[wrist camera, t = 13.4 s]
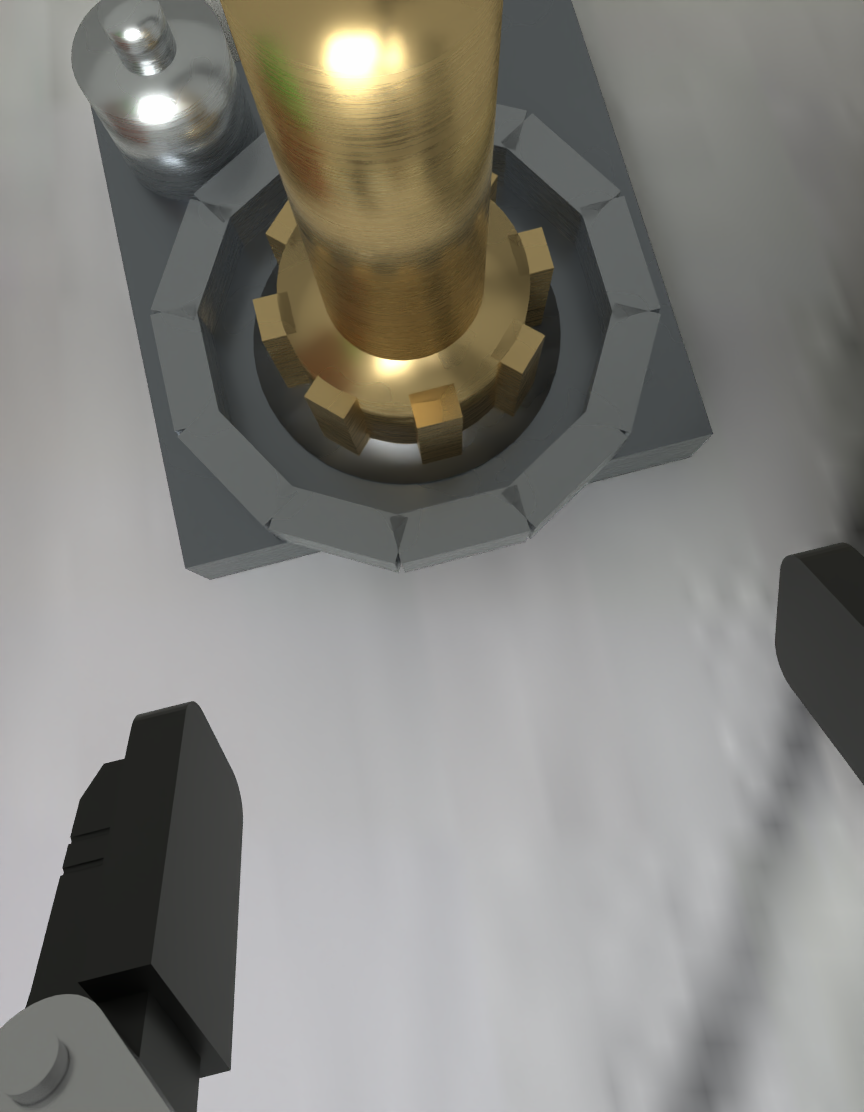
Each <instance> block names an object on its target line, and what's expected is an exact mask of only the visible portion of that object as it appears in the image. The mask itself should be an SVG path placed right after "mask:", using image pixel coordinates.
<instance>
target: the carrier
mask: <svg viewBox="0 0 864 1112" xmlns="http://www.w3.org/2000/svg"><path fill="white" fill-rule="evenodd" d="M71 60H72V68H73V72H74V75H75V78H76V80H77V83H78V85H79V86H80V88H81V90H82V91H83V93H84V95H85V96H86V98H87V99H88V101H89V103H90V104H91V109H92V114H93V119H94V124H95V129H96V133H97V138H98V143H99V148H100V153H101V158H102V163H103V168H104V173H105V178H106V182H107V187H108V192H109V197H110V202H111V207H112V212H113V217H114V222H115V226H116V231H117V236H118V241H119V246H120V251H121V256H122V261H123V266H124V271H125V275H126V280H127V285H128V290H129V295H130V300H131V305H132V310H133V315H134V319H135V324H136V329H137V334H138V339H139V344H140V349H141V354H142V359H143V363H144V368H145V373H146V378H147V383H148V388H149V393H150V398H151V403H152V408H153V412H154V417H155V422H156V427H157V432H158V437H159V442H160V447H161V452H162V456H163V461H164V466H165V471H166V476H167V481H168V486H169V491H170V496H171V501H172V505H173V510H174V515H175V520H176V525H177V530H178V535H179V540H180V545H181V549H182V554H183V559H184V564H185V569H188V570H190V571H192V572H194V573H196V574H199V575H201V576H203V577H205V578H207V579H209V580H211V579H215V578H219V577H223V576H226V575H230V574H234V573H238V572H242V571H246V570H250V569H254V568H258V567H262V566H266V565H270V564H273V563H277V562H281V561H285V560H289V559H293V558H297V557H301V556H305V555H309V554H313V553H316V552H320V551H322V552H326V553H329V554H333V555H337V556H340V557H344V558H348V559H351V560H355V561H359V562H362V563H366V564H369V565H373V566H377V567H380V568H384V569H388V570H391V571H395V572H398V573H399V570H400V567H401V564H402V567H403V569H404V571H405V573H406V572H410V571H413V570H417V569H421V568H425V567H429V566H433V565H437V564H441V563H445V562H449V561H453V560H456V559H460V558H464V557H468V556H472V555H476V554H480V553H484V552H488V551H492V550H495V549H499V548H503V547H507V546H511V545H515V544H519V543H523V542H525V541H526V539H527V537H529V538H530V539H531V538H532V537H533V536H534V535H535V534H536V533H537V532H538V531H539V530H540V529H541V528H542V527H543V526H544V525H545V524H546V523H547V522H548V521H549V520H550V519H551V518H552V517H553V516H554V515H555V514H556V513H558V512H559V511H560V510H561V509H562V508H563V507H564V506H565V505H566V504H567V503H568V502H569V501H570V500H571V499H572V498H573V497H574V496H575V495H576V494H577V493H578V492H579V491H580V490H581V489H582V488H583V487H584V486H585V485H586V484H587V483H590V482H594V481H598V480H602V479H606V478H610V477H614V476H618V475H622V474H626V473H630V472H633V471H637V470H641V469H645V468H649V467H653V466H657V465H661V464H665V463H669V462H673V461H677V460H680V459H684V458H688V457H691V456H692V455H693V454H694V453H695V452H696V451H697V450H698V449H699V448H700V446H701V445H702V444H703V443H704V442H705V441H706V440H707V439H708V438H709V437H710V436H711V435H712V434H713V432H712V429H711V426H710V423H709V420H708V417H707V414H706V411H705V408H704V405H703V402H702V399H701V396H700V393H699V389H698V386H697V383H696V380H695V377H694V374H693V371H692V368H691V365H690V362H689V359H688V356H687V353H686V350H685V347H684V344H683V341H682V338H681V335H680V331H679V328H678V325H677V322H676V319H675V316H674V313H673V310H672V307H671V304H670V301H669V298H668V295H667V292H666V289H665V286H664V283H663V280H662V277H661V273H660V270H659V267H658V264H657V261H656V258H655V255H654V252H653V249H652V246H651V243H650V240H649V237H648V234H647V231H646V228H645V225H644V222H643V218H642V215H641V212H640V209H639V206H638V203H637V200H636V197H635V194H634V191H633V188H632V185H631V182H630V179H629V176H628V173H627V170H626V167H625V164H624V160H623V157H622V154H621V151H620V148H619V145H618V142H617V139H616V136H615V133H614V130H613V127H612V124H611V121H610V118H609V115H608V112H607V109H606V105H605V102H604V99H603V96H602V93H601V90H600V87H599V84H598V81H597V78H596V75H595V72H594V69H593V66H592V63H591V60H590V57H589V54H588V51H587V47H586V44H585V41H584V38H583V35H582V32H581V29H580V26H579V23H578V20H577V17H576V14H575V11H574V8H573V5H572V2H571V0H503V11H502V26H501V41H500V56H499V71H498V86H497V101H496V116H495V131H494V146H493V161H492V173H494V174H496V175H498V180H497V192H496V205H497V206H498V207H499V208H500V209H501V210H502V211H503V212H504V213H505V215H506V216H507V217H508V219H509V220H510V221H511V223H512V224H513V226H514V227H515V229H516V231H517V233H520V232H524V231H528V230H532V229H536V228H540V227H542V229H543V233H544V236H545V239H546V243H547V246H548V249H549V252H550V256H551V259H552V262H553V266H554V270H553V275H552V279H551V283H550V288H549V292H548V297H547V301H546V305H545V310H544V314H543V319H542V323H541V325H537V326H533V327H530V328H532V329H534V330H536V331H538V332H540V333H542V334H543V335H545V339H544V343H543V347H542V351H541V355H540V359H539V363H538V367H537V371H536V375H535V379H534V383H533V385H532V387H531V389H530V390H529V392H528V394H527V395H526V397H525V399H524V400H523V402H522V404H521V405H520V407H519V408H518V410H517V412H516V413H515V415H514V417H512V416H510V415H509V414H507V413H505V412H503V411H501V410H499V409H498V408H496V407H493V408H492V409H491V410H490V411H489V412H488V413H487V414H486V415H485V416H484V417H483V418H481V419H480V420H479V421H478V422H476V423H475V424H473V425H472V426H470V427H469V428H467V429H465V430H464V431H463V437H462V455H459V456H455V457H451V458H447V459H443V460H439V461H435V462H431V463H427V464H422V460H421V456H420V453H419V449H418V445H417V444H396V443H389V442H384V441H379V440H376V439H373V438H370V440H369V441H368V443H367V445H366V446H365V448H364V449H363V451H362V452H361V454H360V456H358V455H356V454H354V453H353V452H351V451H349V450H347V449H346V448H344V447H342V446H340V445H339V444H337V443H335V442H333V441H332V440H330V439H328V438H326V437H325V436H324V434H323V432H322V430H321V428H320V426H319V424H318V422H317V420H316V419H315V417H314V415H313V413H312V411H311V409H310V407H309V405H308V403H307V401H306V399H305V397H304V396H305V394H306V393H307V391H308V390H309V388H310V387H311V385H310V383H307V384H303V385H299V386H296V387H292V388H288V387H287V385H286V383H285V381H284V380H283V378H282V376H281V374H280V372H279V371H278V369H277V367H276V365H275V363H274V362H273V360H272V358H271V356H270V354H269V353H268V351H267V349H266V347H265V345H264V344H263V342H262V338H261V334H260V330H259V325H258V321H257V317H256V312H255V308H254V304H253V299H257V298H261V297H265V296H269V295H273V294H277V278H278V269H279V265H278V263H277V260H276V258H275V256H274V253H273V251H272V248H271V246H270V244H269V241H268V239H267V237H266V234H265V233H266V232H267V230H268V229H269V227H270V226H271V224H272V223H273V221H274V220H275V218H276V217H277V215H278V214H279V212H280V211H281V210H282V208H283V207H284V205H285V204H286V202H287V201H288V197H287V194H286V191H285V189H284V186H283V183H282V180H281V177H280V174H279V171H278V168H277V165H276V162H275V159H274V156H273V153H272V151H271V148H270V145H269V142H268V139H267V136H266V133H265V130H264V127H263V124H262V121H261V118H260V115H259V113H258V110H257V107H256V104H255V101H254V98H253V95H252V92H251V89H250V86H249V83H248V80H247V78H246V75H245V72H244V69H243V66H242V63H241V61H237V62H234V60H233V57H232V54H231V52H230V49H229V46H228V43H227V40H226V37H225V35H224V32H223V29H222V26H221V23H220V21H219V19H218V17H217V15H216V14H215V12H214V11H213V9H212V8H211V7H210V6H209V5H208V4H207V3H206V1H204V0H101V1H100V2H99V3H98V4H96V5H95V6H94V7H93V8H92V9H91V10H90V11H89V13H88V14H87V15H86V16H85V18H84V19H83V21H82V22H81V24H80V26H79V28H78V30H77V32H76V34H75V38H74V41H73V46H72V56H71Z"/></svg>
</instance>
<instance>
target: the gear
mask: <svg viewBox="0 0 864 1112" xmlns="http://www.w3.org/2000/svg"><path fill="white" fill-rule="evenodd" d="M220 2H221V4H222V7H223V10H224V13H225V16H226V19H227V22H228V25H229V28H230V31H231V34H232V37H233V40H234V42H235V45H236V48H237V51H238V54H239V57H240V60H241V63H242V66H243V69H244V72H245V75H246V78H247V80H248V83H249V86H250V89H251V92H252V95H253V98H254V101H255V104H256V107H257V110H258V113H259V115H260V118H261V121H262V124H263V127H264V130H265V133H266V136H267V139H268V142H269V145H270V148H271V151H272V153H273V156H274V159H275V162H276V165H277V168H278V171H279V174H280V177H281V180H282V183H283V186H284V189H285V191H286V194H287V197H288V201H287V202H286V204H285V205H284V207H283V208H282V210H281V211H280V212H279V214H278V215H277V217H276V218H275V220H274V221H273V223H272V224H271V226H270V227H269V229H268V230H267V232H266V233H265V234H266V237H267V239H268V241H269V244H270V246H271V248H272V251H273V253H274V256H275V258H276V260H277V263H278V265H279V269H278V278H277V294H273V295H269V296H265V297H261V298H257V299H253V304H254V308H255V312H256V317H257V321H258V325H259V330H260V334H261V338H262V342H263V344H264V345H265V347H266V349H267V351H268V353H269V354H270V356H271V358H272V360H273V362H274V363H275V365H276V367H277V369H278V371H279V372H280V374H281V376H282V378H283V380H284V381H285V383H286V385H287V387H288V388H292V387H296V386H299V385H303V384H307V383H310V385H311V387H310V388H309V390H308V391H307V393H306V394H305V396H304V397H305V399H306V401H307V403H308V405H309V407H310V409H311V411H312V413H313V415H314V417H315V419H316V420H317V422H318V424H319V426H320V428H321V430H322V432H323V434H324V436H325V437H326V438H328V439H330V440H332V441H333V442H335V443H337V444H339V445H340V446H342V447H344V448H346V449H347V450H349V451H351V452H353V453H354V454H356V455H358V456H360V454H361V452H362V451H363V449H364V448H365V446H366V445H367V443H368V441H369V440H370V438H373V439H376V440H379V441H384V442H389V443H396V444H417V445H418V449H419V453H420V456H421V460H422V464H427V463H431V462H435V461H439V460H443V459H447V458H451V457H455V456H459V455H462V437H463V431H464V430H465V429H467V428H469V427H470V426H472V425H473V424H475V423H476V422H478V421H479V420H480V419H481V418H483V417H484V416H485V415H486V414H487V413H488V412H489V411H490V410H491V409H492V408H493V407H496V408H498V409H499V410H501V411H503V412H505V413H507V414H509V415H510V416H512V417H514V415H515V413H516V412H517V410H518V408H519V407H520V405H521V404H522V402H523V400H524V399H525V397H526V395H527V394H528V392H529V390H530V389H531V387H532V385H533V383H534V379H535V375H536V371H537V367H538V363H539V359H540V355H541V351H542V347H543V343H544V339H545V335H543V334H542V333H540V332H538V331H536V330H534V329H532V328H530V327H533V326H537V325H541V323H542V319H543V314H544V310H545V305H546V301H547V297H548V292H549V288H550V283H551V279H552V275H553V270H554V266H553V262H552V259H551V256H550V252H549V249H548V246H547V243H546V239H545V236H544V233H543V229H542V227H540V228H536V229H532V230H528V231H524V232H520V233H517V231H516V229H515V227H514V226H513V224H512V223H511V221H510V220H509V219H508V217H507V216H506V215H505V213H504V212H503V211H502V210H501V209H500V208H499V207H498V206H497V205H496V192H497V180H498V175H496V174H494V173H492V161H493V146H494V131H495V116H496V101H497V86H498V71H499V56H500V41H501V26H502V11H503V0H220Z"/></svg>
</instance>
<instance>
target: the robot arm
mask: <svg viewBox="0 0 864 1112" xmlns="http://www.w3.org/2000/svg"><path fill="white" fill-rule="evenodd" d="M775 648H776V654H777V658H778V662H779V665H780V668H781V670H782V673H783V675H784V677H785V679H786V681H787V682H788V684H789V685H790V687H791V688H792V690H793V691H794V692H795V694H796V695H797V696H798V698H799V699H800V700H801V702H802V703H803V704H804V706H805V707H806V708H807V710H808V711H809V712H810V714H811V715H812V716H813V718H814V719H815V720H816V722H817V723H818V724H819V726H820V727H821V728H822V730H823V731H824V732H825V734H826V735H827V736H828V738H829V739H830V740H831V742H832V743H833V744H834V746H835V747H836V748H837V750H838V751H839V752H840V754H841V755H842V756H843V758H844V759H845V761H846V762H847V763H848V765H849V766H850V767H851V769H852V770H853V771H854V773H855V774H856V775H857V777H858V778H859V779H860V781H861V782H862V783H863V785H864V557H863V556H862V555H861V554H860V553H859V552H858V551H857V550H856V549H854V548H853V547H852V546H850V545H849V544H846V543H837V544H833V545H829V546H825V547H821V548H817V549H813V550H809V551H805V552H801V553H797V554H793V555H789V556H787V557H785V558H784V559H783V561H782V564H781V568H780V579H779V593H778V607H777V620H776V634H775ZM242 829H243V810H242V802H241V796H240V791H239V787H238V784H237V780H236V778H235V775H234V773H233V771H232V769H231V767H230V765H229V763H228V761H227V759H226V757H225V755H224V753H223V751H222V749H221V747H220V745H219V743H218V741H217V739H216V737H215V735H214V733H213V731H212V729H211V727H210V725H209V723H208V721H207V719H206V717H205V715H204V713H203V711H202V710H201V708H200V706H199V705H198V704H197V703H196V702H194V701H191V702H187V703H183V704H179V705H175V706H171V707H167V708H163V709H159V710H155V711H151V712H147V713H143V714H139V715H137V716H136V717H135V719H134V721H133V723H132V727H131V732H130V736H129V741H128V746H127V751H126V755H125V759H122V760H118V761H114V762H109V763H105V764H103V766H102V767H101V769H100V770H99V772H98V773H97V775H96V776H95V778H94V779H93V781H92V782H91V784H90V785H89V787H88V788H87V790H86V791H85V793H84V794H83V796H82V797H81V799H80V801H79V805H78V809H77V813H76V817H75V821H74V825H73V829H72V833H71V836H70V837H71V841H72V842H71V844H68V848H67V852H66V856H65V860H64V864H63V871H64V874H63V875H62V876H60V879H59V883H58V887H57V891H56V895H55V899H54V903H53V907H52V910H51V914H50V918H49V922H48V926H47V930H46V934H45V938H44V942H43V946H42V949H41V953H40V957H39V961H38V965H37V969H36V973H35V977H34V981H33V985H32V988H31V992H30V995H29V999H28V1002H27V1005H26V1007H25V1009H24V1010H22V1011H20V1012H19V1013H18V1014H17V1015H15V1016H14V1017H13V1018H11V1019H10V1020H9V1021H8V1022H7V1023H6V1024H5V1025H4V1026H3V1027H2V1028H0V1112H197V1100H198V1087H199V1078H202V1077H206V1076H210V1075H214V1074H218V1073H222V1072H225V1071H229V1070H231V1051H232V1031H233V1011H234V990H235V970H236V950H237V930H238V910H239V890H240V869H241V849H242Z"/></svg>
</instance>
